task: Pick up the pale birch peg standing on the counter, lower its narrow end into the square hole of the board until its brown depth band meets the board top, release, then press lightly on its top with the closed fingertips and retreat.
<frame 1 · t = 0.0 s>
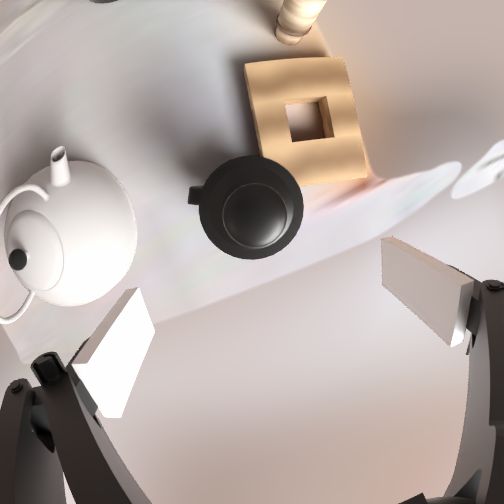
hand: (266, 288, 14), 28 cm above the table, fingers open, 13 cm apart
board: (302, 122, 38), on the table
french press: (243, 197, 41), on the table, touching board
kettle: (78, 223, 40), on the table
peg: (288, 34, 34), on the table
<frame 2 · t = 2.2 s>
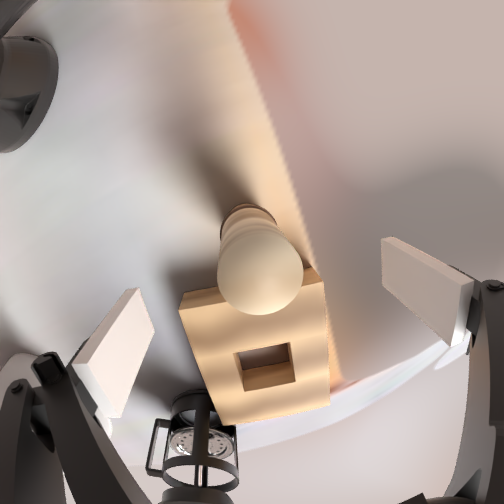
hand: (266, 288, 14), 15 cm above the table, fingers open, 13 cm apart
board: (262, 347, 33), on the table
french press: (200, 410, 36), on the table, touching board
kettle: (55, 400, 35), on the table
peg: (246, 223, 28), on the table
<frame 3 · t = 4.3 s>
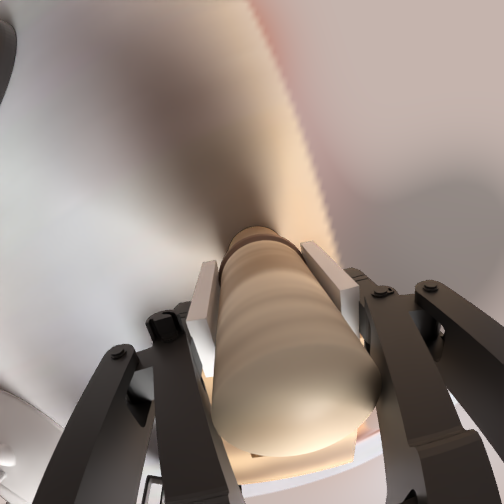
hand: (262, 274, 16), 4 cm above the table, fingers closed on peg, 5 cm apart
board: (274, 405, 24), on the table
french press: (199, 464, 27), on the table, touching board
kettle: (38, 437, 26), on the table
peg: (257, 254, 20), on the table, touching gripper
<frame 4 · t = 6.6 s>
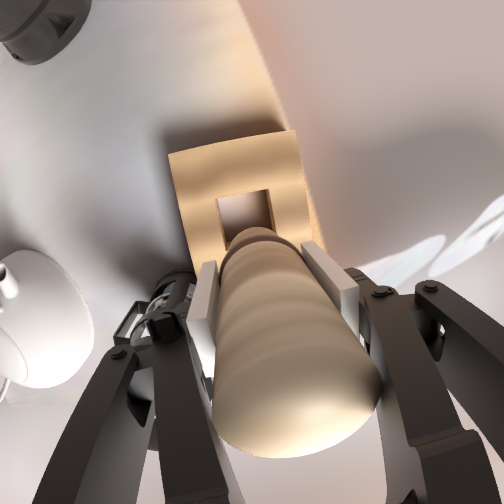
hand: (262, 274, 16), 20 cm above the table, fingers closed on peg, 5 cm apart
board: (245, 214, 35), on the table
french press: (183, 300, 38), on the table, touching board
kettle: (40, 307, 38), on the table
peg: (257, 255, 20), point 16 cm above the table, touching gripper
when the fingers open (6 cm above the table, at t = 9.1 s): peg drops 2 cm, resting in board.
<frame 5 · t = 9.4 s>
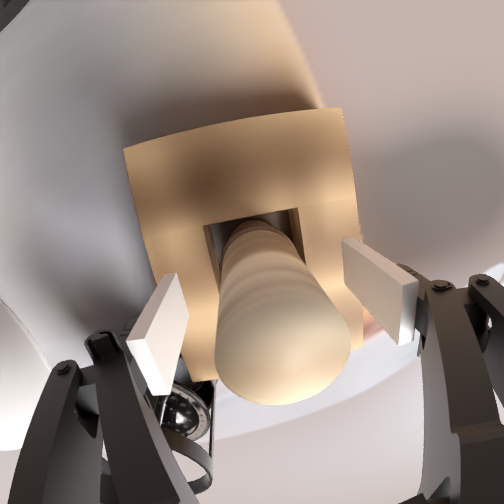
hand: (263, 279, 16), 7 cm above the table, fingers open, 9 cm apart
board: (254, 245, 22), on the table
french press: (165, 365, 25), on the table, touching board
peg: (254, 245, 22), resting in board
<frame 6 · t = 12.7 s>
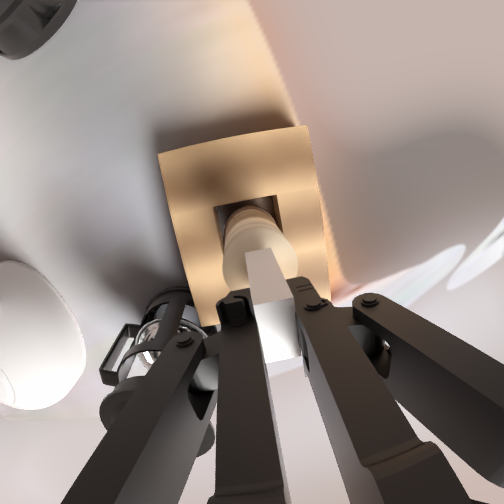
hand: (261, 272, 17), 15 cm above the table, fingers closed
board: (248, 223, 31), on the table
french press: (178, 321, 33), on the table, touching board
kettle: (28, 322, 33), on the table
peg: (248, 223, 31), resting in board
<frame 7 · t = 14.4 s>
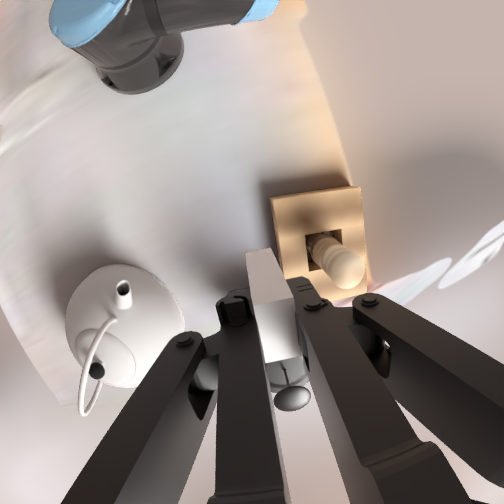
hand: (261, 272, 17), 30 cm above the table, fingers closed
board: (318, 244, 48), on the table
french press: (266, 308, 50), on the table, touching board
kettle: (129, 315, 50), on the table
peg: (318, 244, 48), resting in board
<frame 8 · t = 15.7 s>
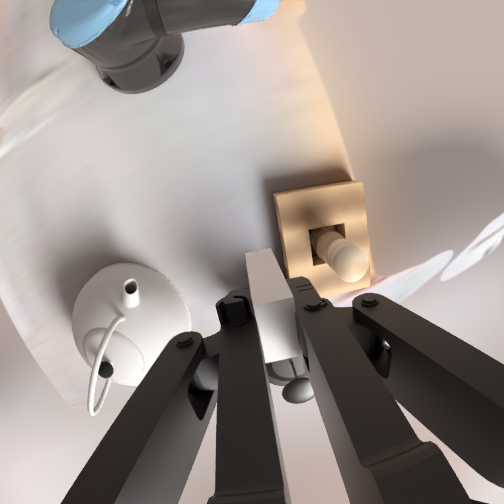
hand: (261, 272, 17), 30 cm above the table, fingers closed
board: (321, 238, 48), on the table
french press: (271, 303, 51), on the table, touching board
kettle: (135, 313, 50), on the table
peg: (321, 238, 48), resting in board
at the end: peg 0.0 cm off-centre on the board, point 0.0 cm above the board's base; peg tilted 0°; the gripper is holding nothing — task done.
